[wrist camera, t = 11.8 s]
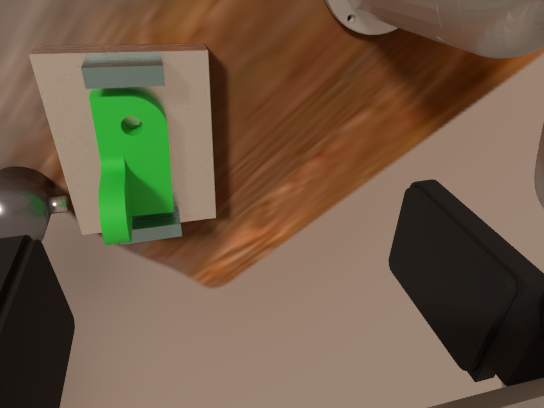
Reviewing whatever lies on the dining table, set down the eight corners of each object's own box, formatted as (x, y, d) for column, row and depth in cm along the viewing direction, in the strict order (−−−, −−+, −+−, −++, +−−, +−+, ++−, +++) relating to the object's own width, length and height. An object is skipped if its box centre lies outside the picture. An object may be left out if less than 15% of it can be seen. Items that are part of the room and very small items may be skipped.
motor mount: (203, 43, 36) (213, 58, 32) (212, 203, 46) (220, 233, 42) (-76, 47, 31) (-115, 67, 26) (2, 228, 41) (-16, 266, 36)
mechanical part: (172, 201, 41) (178, 249, 35) (111, 206, 40) (106, 258, 33) (164, 88, 35) (170, 122, 28) (91, 89, 33) (80, 125, 27)
